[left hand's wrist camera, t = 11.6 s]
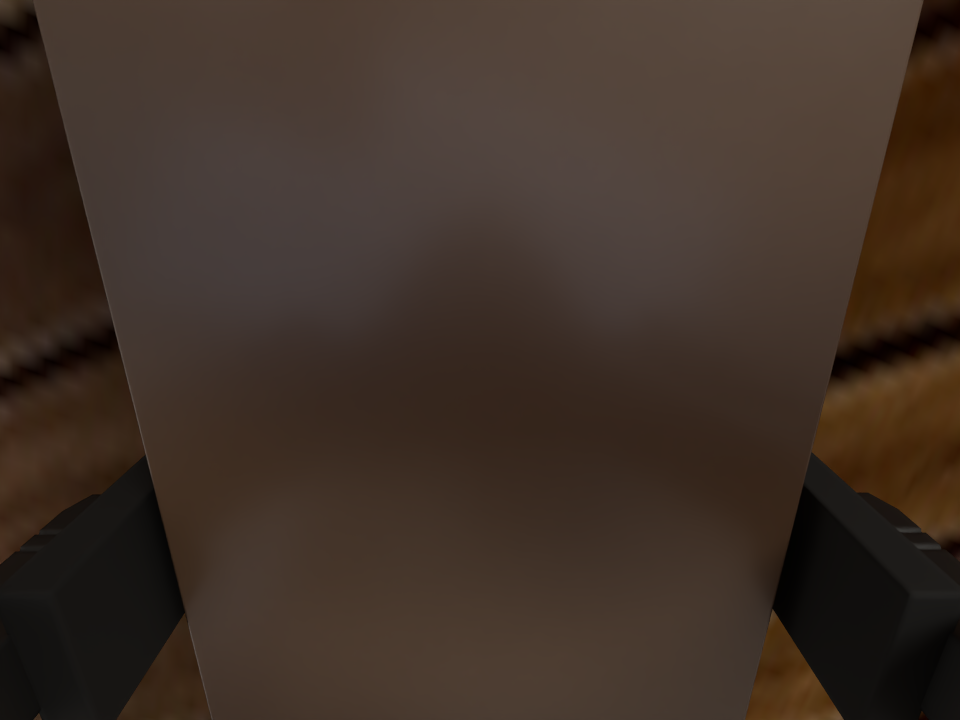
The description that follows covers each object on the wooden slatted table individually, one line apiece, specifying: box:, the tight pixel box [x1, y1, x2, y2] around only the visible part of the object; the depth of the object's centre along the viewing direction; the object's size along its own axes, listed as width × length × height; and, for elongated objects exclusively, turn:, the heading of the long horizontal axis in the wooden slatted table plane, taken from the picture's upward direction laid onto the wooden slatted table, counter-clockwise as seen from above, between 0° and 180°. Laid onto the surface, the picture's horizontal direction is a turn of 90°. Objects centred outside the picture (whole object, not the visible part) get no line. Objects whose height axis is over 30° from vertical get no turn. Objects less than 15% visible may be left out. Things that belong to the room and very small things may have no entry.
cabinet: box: [33, 0, 923, 720], centre depth 12 cm, size 18×10×9 cm, turn 0°
